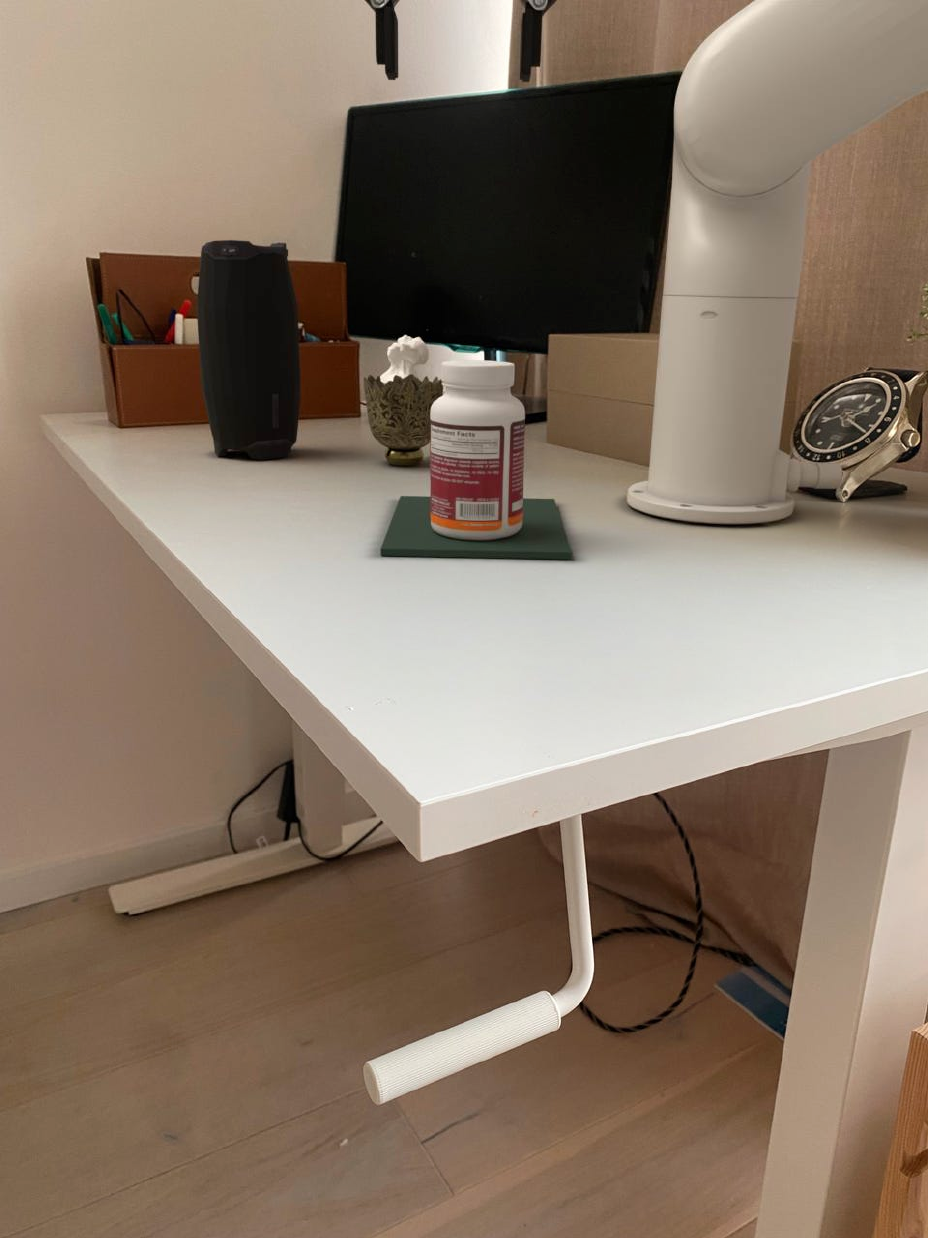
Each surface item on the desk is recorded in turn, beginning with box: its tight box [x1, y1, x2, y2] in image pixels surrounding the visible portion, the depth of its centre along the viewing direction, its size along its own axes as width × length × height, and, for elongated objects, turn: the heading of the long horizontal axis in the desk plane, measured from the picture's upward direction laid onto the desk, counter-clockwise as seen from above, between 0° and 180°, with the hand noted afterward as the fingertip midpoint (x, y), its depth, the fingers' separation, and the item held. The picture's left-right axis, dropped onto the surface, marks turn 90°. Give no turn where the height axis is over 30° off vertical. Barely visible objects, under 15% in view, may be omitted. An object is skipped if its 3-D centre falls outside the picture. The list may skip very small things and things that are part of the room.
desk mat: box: [379, 495, 573, 560], centre depth 69 cm, size 12×16×1 cm
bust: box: [380, 334, 430, 385], centre depth 119 cm, size 12×8×11 cm
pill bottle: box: [429, 359, 526, 541], centre depth 64 cm, size 6×6×11 cm
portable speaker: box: [196, 239, 301, 461], centre depth 94 cm, size 9×9×20 cm
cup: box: [363, 374, 445, 467], centre depth 92 cm, size 8×7×8 cm
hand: (458, 77), depth 71 cm, fingers open, 9 cm apart
